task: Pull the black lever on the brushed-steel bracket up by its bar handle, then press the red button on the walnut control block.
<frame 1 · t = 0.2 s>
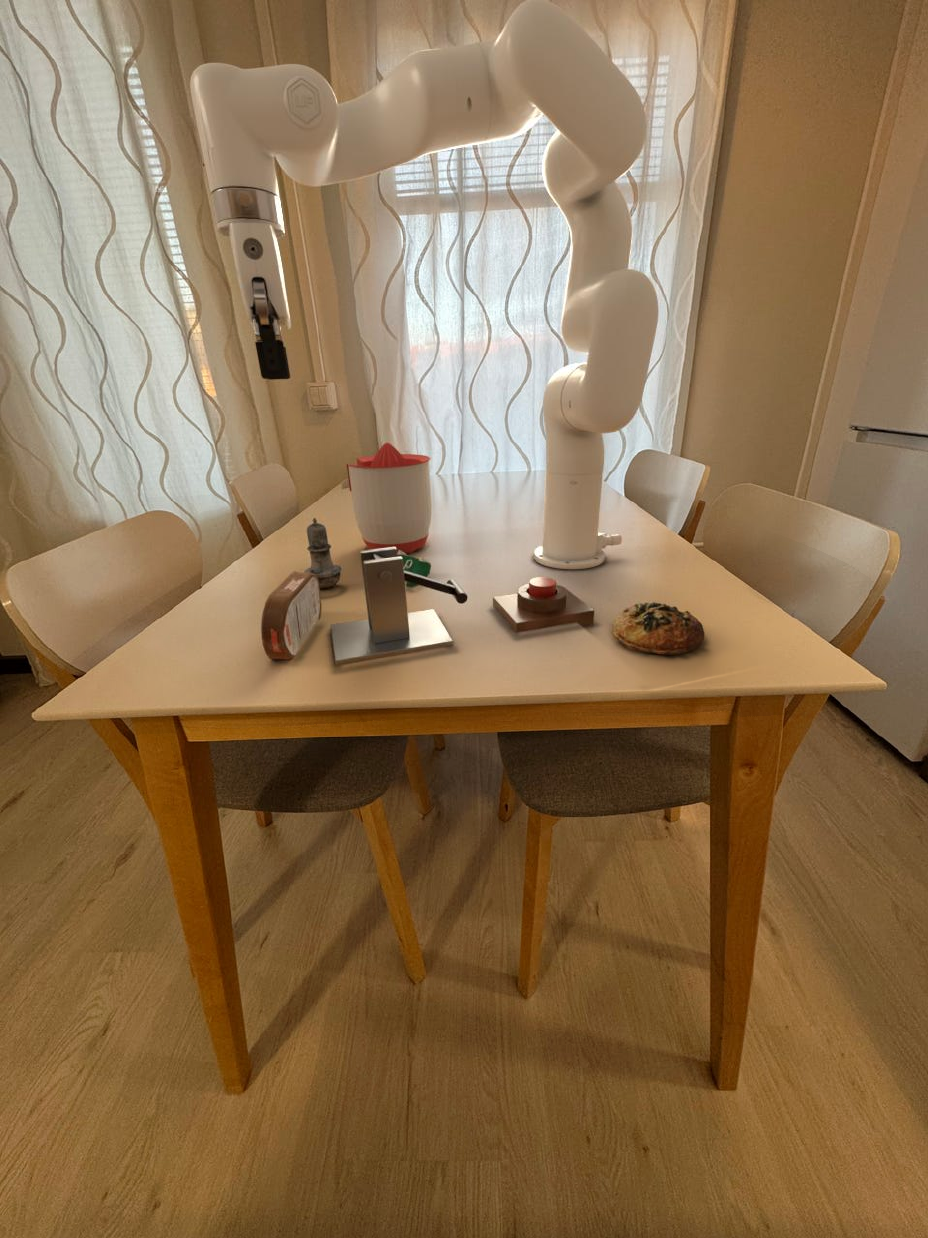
hand: (277, 378, 66), 31 cm above the table, tool pointing down, fingers open, 9 cm apart
citrus juicer: (392, 547, 101), on the table
lever: (418, 579, 62), point 8 cm above the table, hinge at -25.0°
bracket: (390, 642, 64), on the table
tin: (301, 644, 65), on the table
button: (542, 587, 67), point 4 cm above the table, slide at 0.1 cm
salt shaker: (326, 592, 81), on the table
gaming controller: (406, 581, 84), on the table
bread roll: (654, 638, 63), on the table
button block: (541, 617, 69), on the table
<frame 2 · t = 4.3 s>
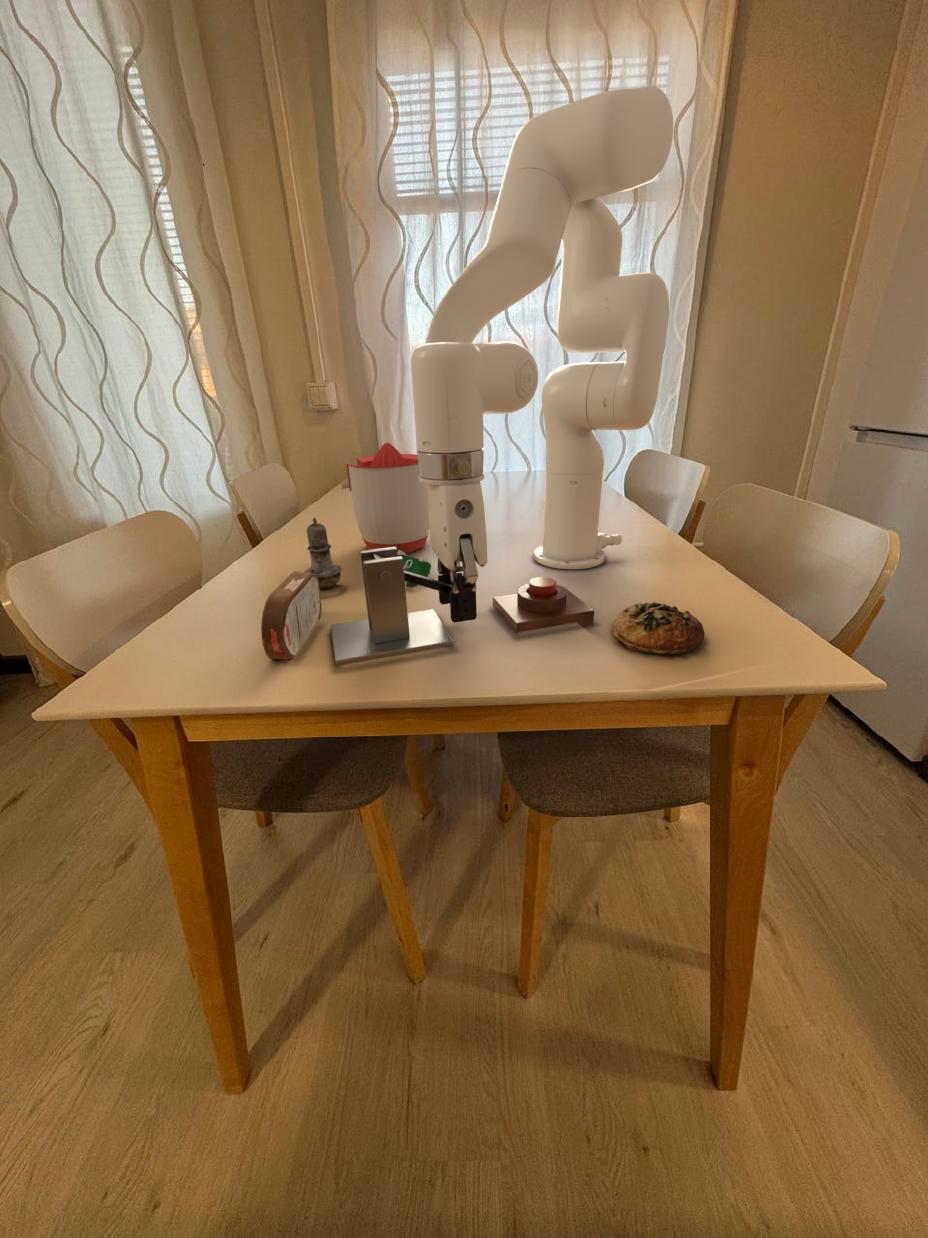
hand: (457, 609, 65), 3 cm above the table, tool pointing down, fingers closed on lever, 5 cm apart
lever: (418, 579, 62), point 8 cm above the table, hinge at -25.0°, touching gripper
everything else where it was.
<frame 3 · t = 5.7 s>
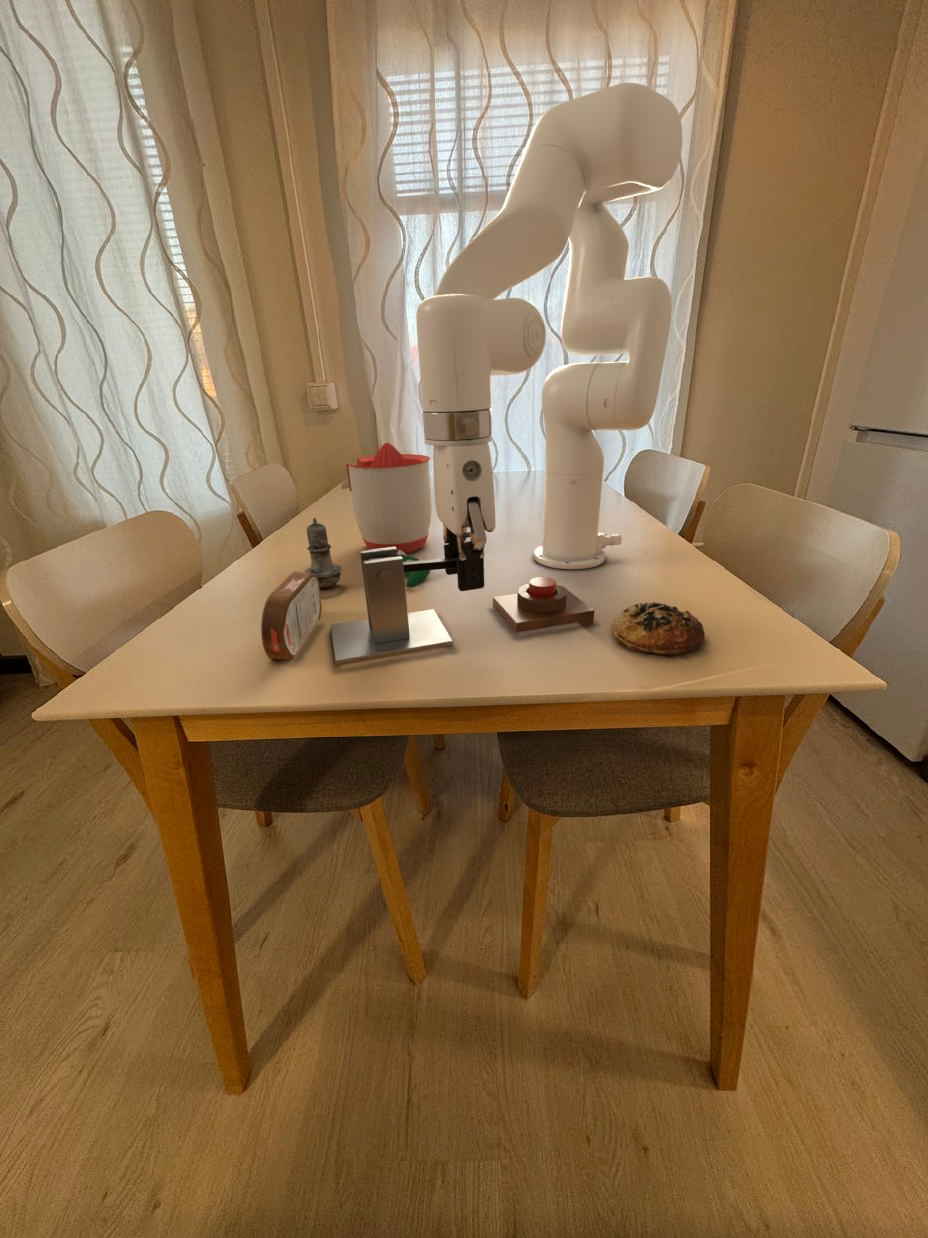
hand: (464, 579, 63), 7 cm above the table, tool pointing down, fingers closed on lever, 5 cm apart
lever: (420, 565, 61), point 10 cm above the table, hinge at -2.7°, touching gripper
everything else where it was.
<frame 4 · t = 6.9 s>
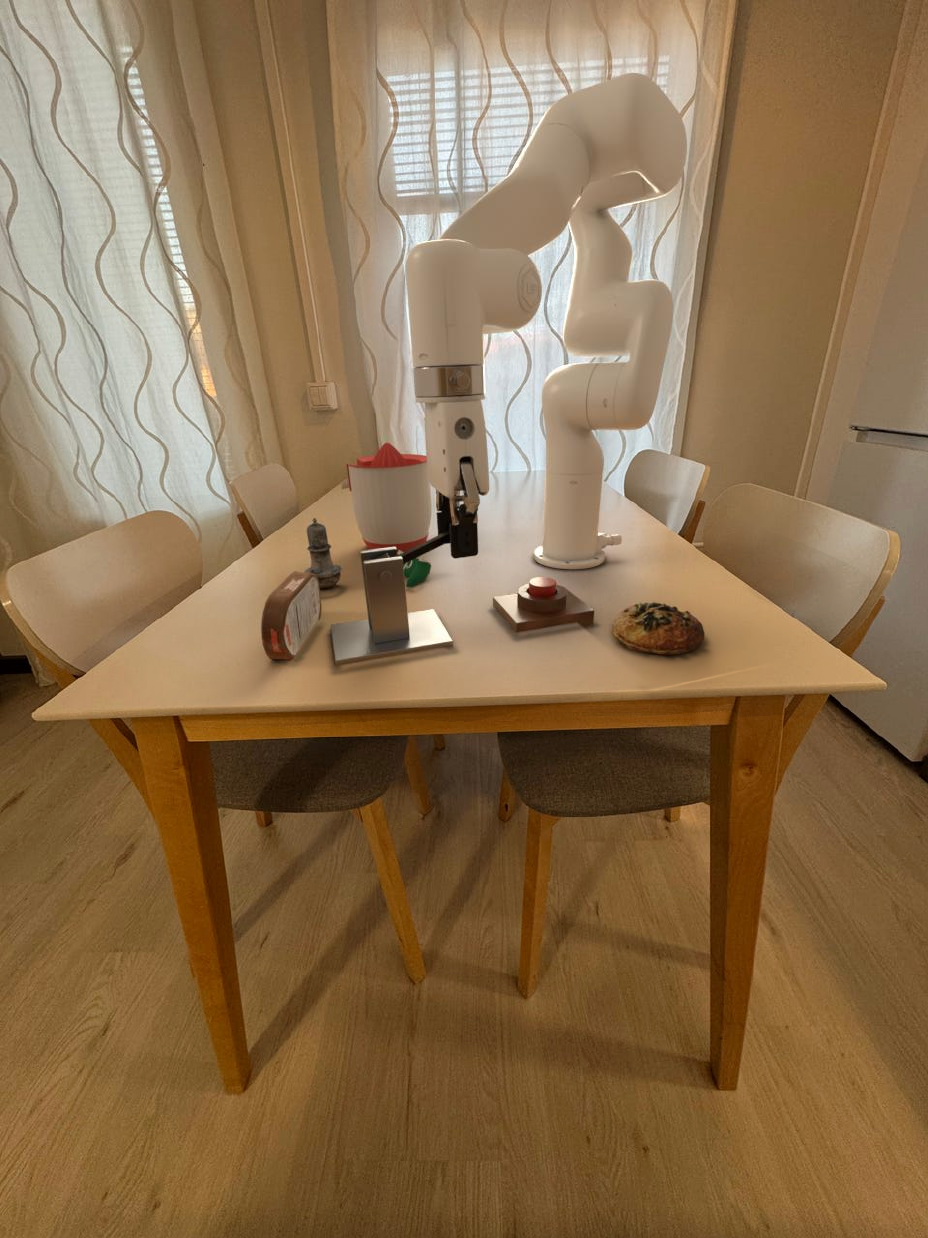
hand: (457, 547, 61), 11 cm above the table, tool pointing down, fingers closed on lever, 5 cm apart
lever: (417, 551, 60), point 12 cm above the table, hinge at 20.2°, touching gripper
everything else where it was.
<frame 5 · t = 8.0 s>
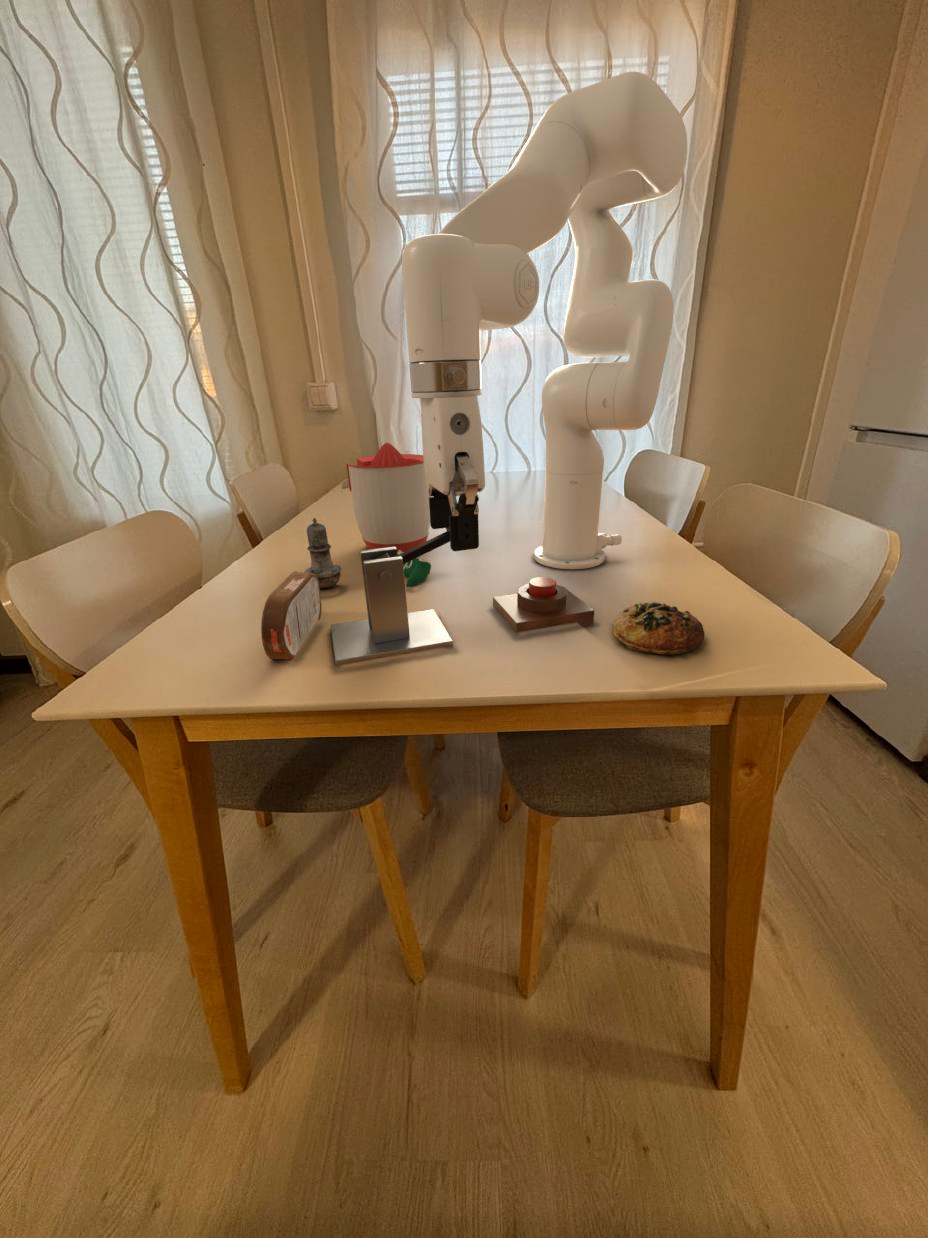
hand: (453, 537, 61), 13 cm above the table, tool pointing down, fingers open, 9 cm apart
lever: (417, 551, 60), point 12 cm above the table, hinge at 20.0°
everything else where it was.
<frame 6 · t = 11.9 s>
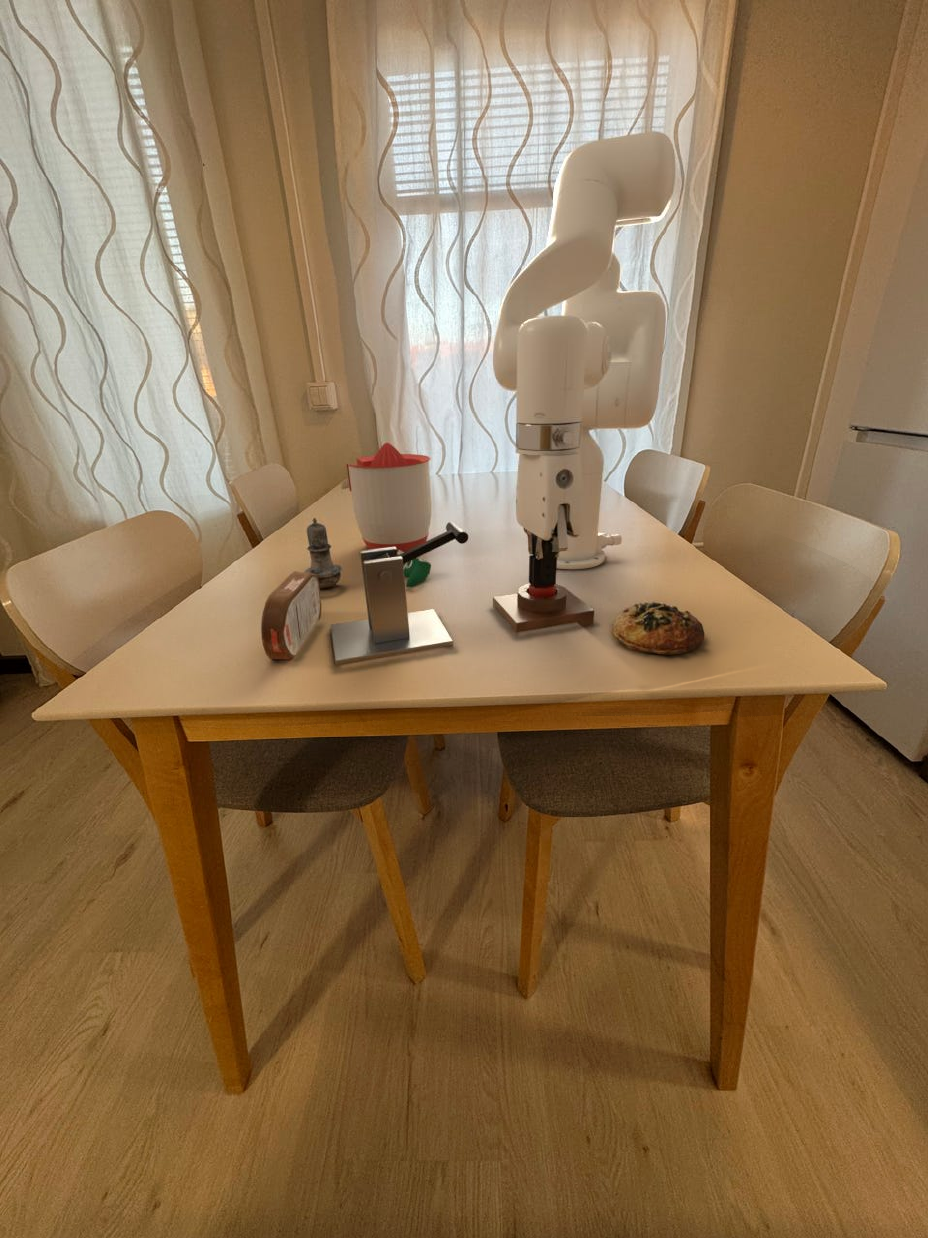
hand: (542, 584, 67), 5 cm above the table, tool pointing down, fingers closed
button: (542, 589, 67), point 4 cm above the table, slide at -0.2 cm, touching gripper
everything else where it was.
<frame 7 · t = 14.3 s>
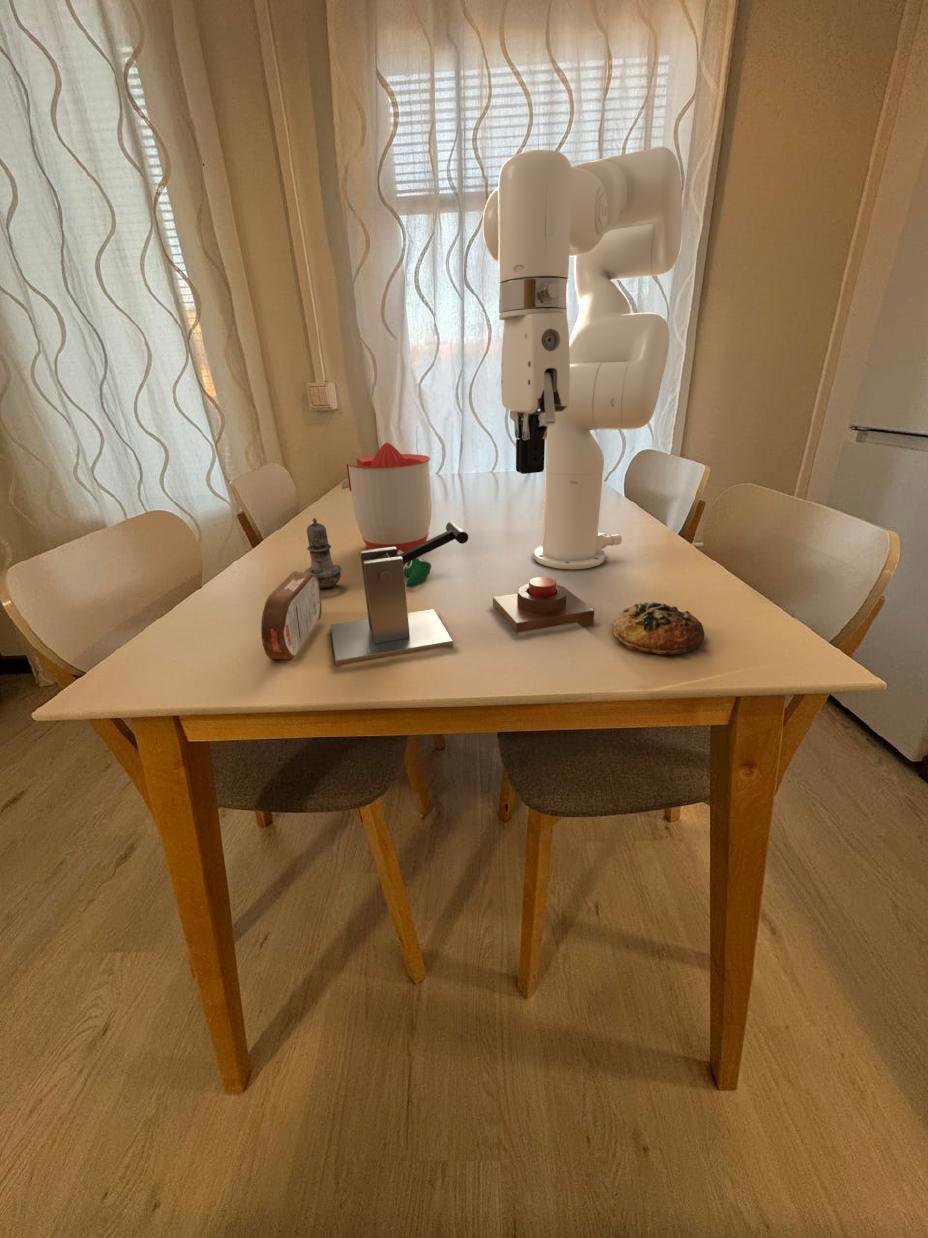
hand: (529, 471, 64), 19 cm above the table, tool pointing down, fingers closed
button: (542, 587, 67), point 4 cm above the table, slide at 0.1 cm
everything else where it was.
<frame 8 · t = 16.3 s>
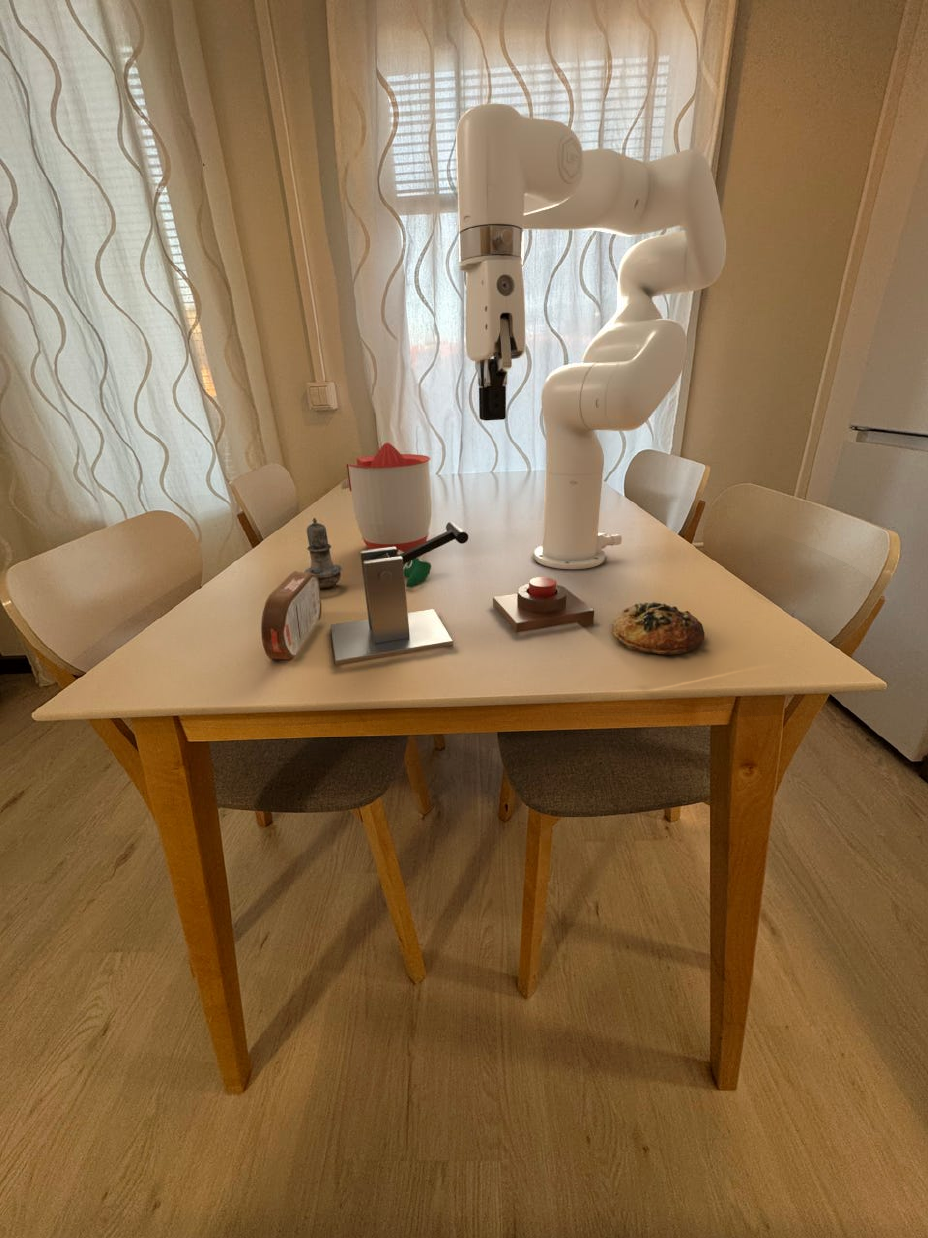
hand: (492, 419, 67), 25 cm above the table, tool pointing down, fingers closed
nothing on the table moved.
at the end: lever at +20° (first picture: -25°); button pushed in 1.1 cm at the most during the clip, back to where it started at the end; button slide at 0.1 cm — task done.
